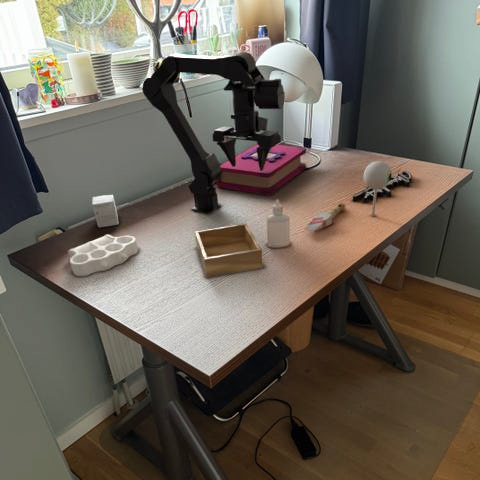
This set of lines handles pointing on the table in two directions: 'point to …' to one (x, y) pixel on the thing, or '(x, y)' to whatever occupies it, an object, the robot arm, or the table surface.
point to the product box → (105, 210)
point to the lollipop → (377, 178)
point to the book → (270, 178)
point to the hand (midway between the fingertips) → (247, 168)
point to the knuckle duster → (101, 254)
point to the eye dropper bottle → (278, 227)
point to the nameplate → (394, 182)
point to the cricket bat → (323, 218)
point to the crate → (228, 250)
